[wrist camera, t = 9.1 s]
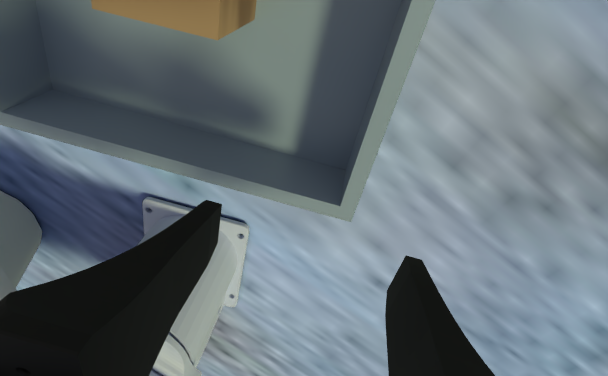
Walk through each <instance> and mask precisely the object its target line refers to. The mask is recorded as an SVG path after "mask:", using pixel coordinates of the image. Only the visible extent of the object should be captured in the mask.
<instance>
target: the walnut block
mask: <svg viewBox="0 0 608 376" xmlns="http://www.w3.org/2000/svg"><path fill="white" fill-rule="evenodd" d="M256 2H257V0H91V4H92V9H95V10H99V11H103V12H107V13H111V14H115V15H119V16H123V17H127V18H131V19H135V20H139V21H143V22H147V23H151V24H155V25H159V26H163V27H166V28H170V29H174V30H178V31H182V32H186V33H190V34H194V35H198V36H202V37H206V38H210V39H214V40H219V39H221V38H223V37H225V36H226V35H228V34H230V33H232V32H234V31H235V30H237V29H239V28H241V27H242V26H244V25H246V24H248V23H250V22H251V21H253V20H255V11H256Z"/></svg>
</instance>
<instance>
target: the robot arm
mask: <svg viewBox="0 0 608 376" xmlns="http://www.w3.org/2000/svg"><path fill="white" fill-rule="evenodd" d="M142 206H143V223H144V237H143V239H142V240H141V241H140V242H139V244H138V245H137V246H135V247H134V248H132V249H130V250H128V251H126V252H124V253H122V254H120V255H118V256H116V257H114V258H111V259H109V260H107V261H105V262H102V263H100V264H98V265H95V266H93V267H90V268H88V269H85V270H83V271H80V272H77V273H74V274H72V275H69V276H66V277H63V278H60V279H57V280H54V281H50V282H47V283H44V284H40V285H37V286H33V287H29V288H26V289H22V290H19V291H15V292H11V293H9V294H8V295H6V296H5V297H4V298H3V299H2V300H0V376H201V374H202V373H201V371H199V370H198V369H197V368H196V367H197V365H198V363H199V361H200V359H201V356H202V354H203V352H204V349H205V347H206V345H207V342H208V340H209V338H210V335H211V333H212V331H213V328H214V326H215V324H216V322H217V319H218V317H219V315H220V312H221V310H222V308H223V305H225V306H228V307H235V306H236V304H237V301H238V295H239V289H240V283H241V277H242V271H243V265H244V259H245V253H246V247H247V241H248V236H249V227H248V225H246V224H245V223H241V222H238V221H234V220H231V219H227V218H224V217H221V207H222V204H219V203H216V202H212V201H208V200H205V201H203V202H202V203H201V204H199V205H198V206H197V207H195V208H194V209H191V208H188V207H184V206H181V205H177V204H173V203H170V202H166V201H163V200H159V199H156V198H152V197H146V198H145V199H144V200H143V202H142ZM149 208H150V209H151V210H150V209H149ZM239 233H240V234H243V235H240V234H239ZM385 317H386V336H387V352H388V368H389V376H495V375H494V374H493V373H492V371H491V370H490V369H489V368H488V366H487V365H486V364H485V363H484V361H483V360H482V359H481V357H480V356H479V355H478V353H477V352H476V350H475V349H474V348H473V346H472V345H471V344H470V342H469V341H468V339H467V338H466V336H465V335H464V333H463V332H462V330H461V329H460V327H459V326H458V324H457V323H456V321H455V319H454V318H453V316H452V314H451V313H450V311H449V309H448V308H447V306H446V304H445V302H444V301H443V299H442V297H441V295H440V293H439V292H438V290H437V288H436V286H435V284H434V282H433V280H432V278H431V277H430V275H429V273H428V271H427V269H426V267H425V265H424V263H423V261H422V260H420V259H417V258H413V257H409V256H405V258H404V260H403V262H402V264H401V266H400V268H399V269H398V271H397V273H396V275H395V277H394V279H393V281H392V282H391V284H390V286H389V288H388V290H387V299H386V315H385Z"/></svg>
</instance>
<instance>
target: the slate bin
mask: <svg viewBox="0 0 608 376" xmlns="http://www.w3.org/2000/svg"><path fill="white" fill-rule="evenodd" d="M434 3H435V0H257V2H256V11H255V20H253V21H251V22H250V23H248V24H246V25H244V26H242V27H241V28H239V29H237V30H235V31H234V32H232V33H230V34H228V35H226V36H225V37H223V38H221V39H219V40H214V39H210V38H206V37H202V36H198V35H194V34H190V33H186V32H182V31H178V30H174V29H170V28H166V27H163V26H159V25H155V24H151V23H147V22H143V21H139V20H135V19H131V18H127V17H123V16H119V15H115V14H111V13H107V12H103V11H99V10H95V9H92V4H91V0H0V125H3V126H7V127H10V128H14V129H18V130H21V131H25V132H28V133H32V134H36V135H39V136H43V137H46V138H50V139H54V140H57V141H61V142H64V143H68V144H72V145H75V146H79V147H82V148H86V149H90V150H93V151H97V152H100V153H104V154H108V155H111V156H115V157H118V158H122V159H126V160H129V161H133V162H136V163H140V164H144V165H147V166H151V167H154V168H158V169H162V170H165V171H169V172H172V173H176V174H180V175H183V176H187V177H190V178H194V179H198V180H201V181H205V182H208V183H212V184H216V185H219V186H223V187H226V188H230V189H234V190H237V191H241V192H245V193H248V194H252V195H255V196H259V197H263V198H266V199H270V200H273V201H277V202H281V203H284V204H288V205H291V206H295V207H299V208H302V209H306V210H309V211H313V212H317V213H320V214H324V215H327V216H331V217H335V218H338V219H342V220H345V221H349V222H351V220H352V218H353V215H354V213H355V210H356V207H357V205H358V202H359V199H360V197H361V194H362V192H363V189H364V186H365V184H366V181H367V179H368V176H369V173H370V171H371V168H372V165H373V163H374V160H375V158H376V155H377V152H378V150H379V147H380V144H381V142H382V139H383V137H384V134H385V131H386V129H387V126H388V123H389V121H390V118H391V116H392V113H393V110H394V108H395V105H396V103H397V100H398V97H399V95H400V92H401V89H402V87H403V84H404V82H405V79H406V76H407V74H408V71H409V68H410V66H411V63H412V61H413V58H414V55H415V53H416V50H417V48H418V45H419V42H420V40H421V37H422V34H423V32H424V29H425V27H426V24H427V21H428V19H429V16H430V13H431V11H432V8H433V6H434Z"/></svg>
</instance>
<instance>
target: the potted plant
mask: <svg viewBox="0 0 608 376" xmlns="http://www.w3.org/2000/svg"><path fill="white" fill-rule="evenodd" d="M41 237H42V230H41V228H40V226H39V224H38V222H37V220H36V218H35V216H34V215H33V213H32V212H31V211H30V210H29V209H28V208H26V207H25V206H24V205H23V204H22V203H21V202H20V201H19V200H17V199H15V198H13V197H11V196H9V195H7V194H5V193H3V192H2V191H0V300H2V299H3V298H4V297H5V296H6V295H8V294H9V293H11V292H15V291H17V290H16V287H17V285H18V283H19V282H20V280H21V278H22V276H23V274H24V273H25V271H26V269H27V267H28V265H29V263H30V262H31V260H32V258H33V256H34V254H35V253H36V251H37V249H38V247H39V245H40V243H41Z"/></svg>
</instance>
